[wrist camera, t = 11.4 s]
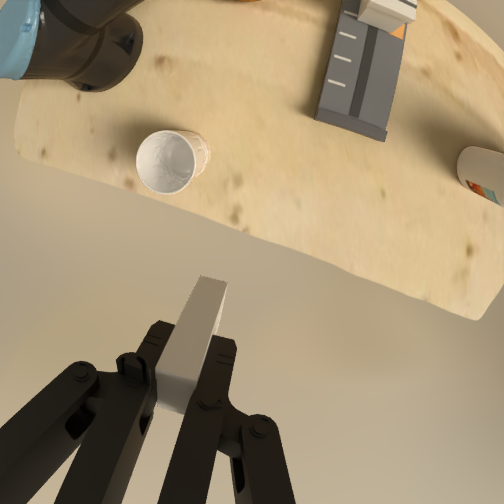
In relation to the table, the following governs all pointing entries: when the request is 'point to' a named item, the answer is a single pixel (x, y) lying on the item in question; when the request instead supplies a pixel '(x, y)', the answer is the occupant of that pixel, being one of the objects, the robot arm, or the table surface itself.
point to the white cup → (171, 160)
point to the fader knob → (387, 13)
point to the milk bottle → (482, 172)
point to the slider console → (360, 75)
